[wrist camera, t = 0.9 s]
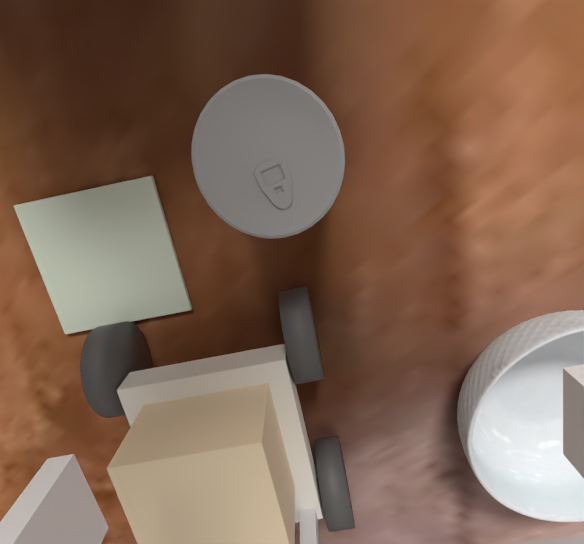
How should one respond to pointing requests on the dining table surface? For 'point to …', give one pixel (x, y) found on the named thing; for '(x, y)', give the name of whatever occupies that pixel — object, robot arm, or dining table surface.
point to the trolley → (218, 438)
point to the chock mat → (105, 254)
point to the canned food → (268, 156)
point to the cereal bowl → (524, 417)
